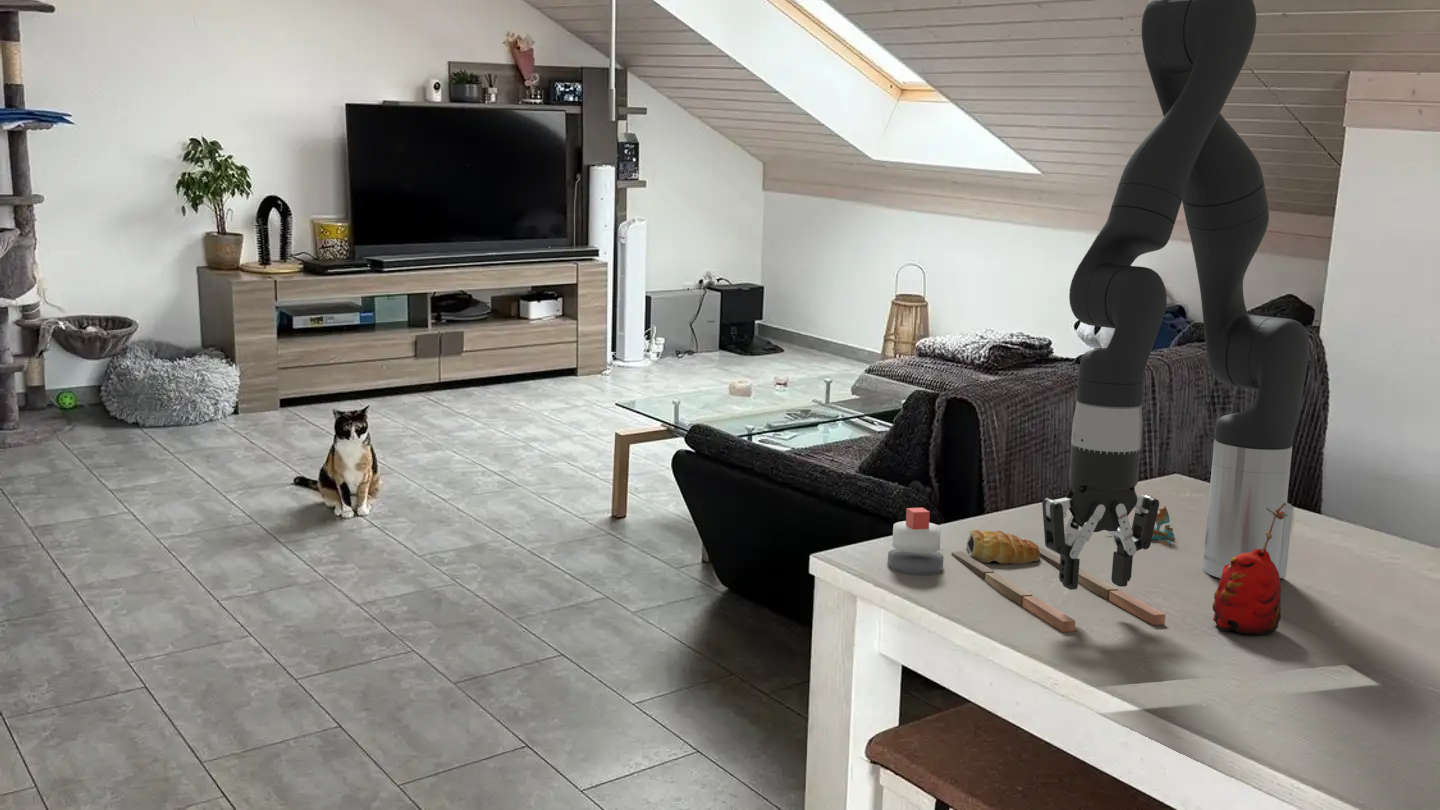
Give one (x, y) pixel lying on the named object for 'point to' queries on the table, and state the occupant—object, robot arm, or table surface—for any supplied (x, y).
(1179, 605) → the table surface
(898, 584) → the table surface
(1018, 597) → the track
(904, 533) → the dome button
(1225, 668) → the table surface
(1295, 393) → the robot arm
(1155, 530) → the dragon figurine
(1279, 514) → the red clay folk toy
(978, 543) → the pastry
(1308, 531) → the table surface
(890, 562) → the button base
